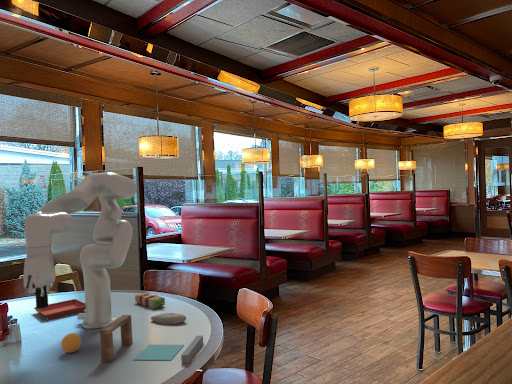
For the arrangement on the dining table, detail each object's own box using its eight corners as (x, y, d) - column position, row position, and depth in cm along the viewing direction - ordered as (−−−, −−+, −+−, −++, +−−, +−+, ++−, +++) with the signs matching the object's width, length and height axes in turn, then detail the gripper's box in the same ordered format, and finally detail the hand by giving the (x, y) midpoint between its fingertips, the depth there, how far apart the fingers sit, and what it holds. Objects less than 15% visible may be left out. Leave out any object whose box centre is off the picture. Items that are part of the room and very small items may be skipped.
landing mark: (133, 360, 126) (133, 359, 126) (149, 345, 138) (149, 344, 138) (171, 360, 124) (171, 359, 124) (183, 345, 136) (183, 344, 136)
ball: (57, 355, 133) (56, 337, 133) (68, 348, 139) (67, 330, 139) (75, 355, 132) (74, 337, 132) (85, 348, 138) (84, 330, 138)
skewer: (133, 304, 192) (132, 293, 192) (145, 301, 197) (144, 290, 197) (157, 312, 178) (157, 300, 178) (170, 308, 182) (169, 296, 182)
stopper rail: (181, 363, 122) (181, 355, 122) (197, 343, 138) (197, 335, 138) (188, 363, 122) (187, 355, 122) (203, 343, 137) (202, 335, 137)
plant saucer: (33, 314, 185) (33, 307, 185) (75, 305, 197) (75, 298, 197) (45, 322, 171) (44, 314, 171) (89, 312, 183) (89, 304, 183)
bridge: (101, 362, 126) (99, 330, 126) (124, 343, 141) (122, 314, 141) (110, 362, 126) (108, 330, 126) (132, 343, 141) (131, 314, 140)
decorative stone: (155, 319, 167) (154, 310, 167) (190, 320, 163) (189, 312, 163) (147, 324, 161) (146, 315, 161) (183, 326, 157) (182, 317, 157)
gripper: (43, 248, 145) (46, 301, 145) (12, 255, 130) (15, 314, 130) (63, 248, 144) (66, 301, 144) (34, 255, 129) (37, 314, 129)
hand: (42, 307), depth 137 cm, fingers closed
